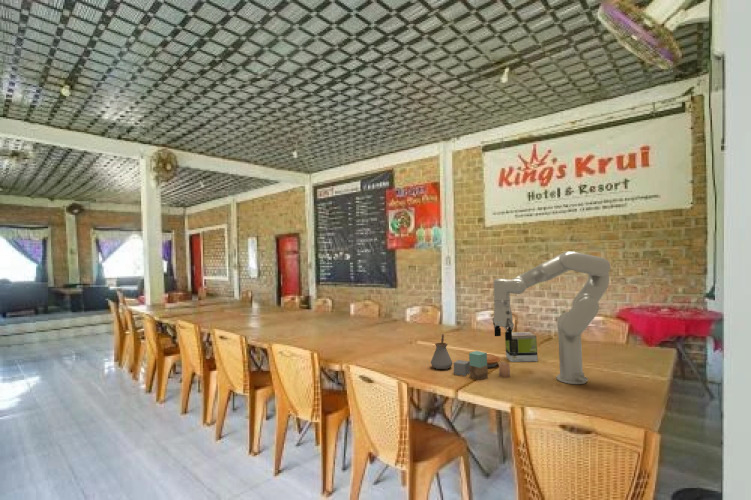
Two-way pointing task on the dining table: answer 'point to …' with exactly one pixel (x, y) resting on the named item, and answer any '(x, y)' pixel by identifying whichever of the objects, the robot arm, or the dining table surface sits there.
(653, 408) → the dining table surface
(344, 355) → the dining table surface
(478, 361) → the tower top
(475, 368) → the block
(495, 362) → the pie
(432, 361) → the coffee pot
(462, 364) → the block
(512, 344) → the tea box
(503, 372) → the pink rounded piece
